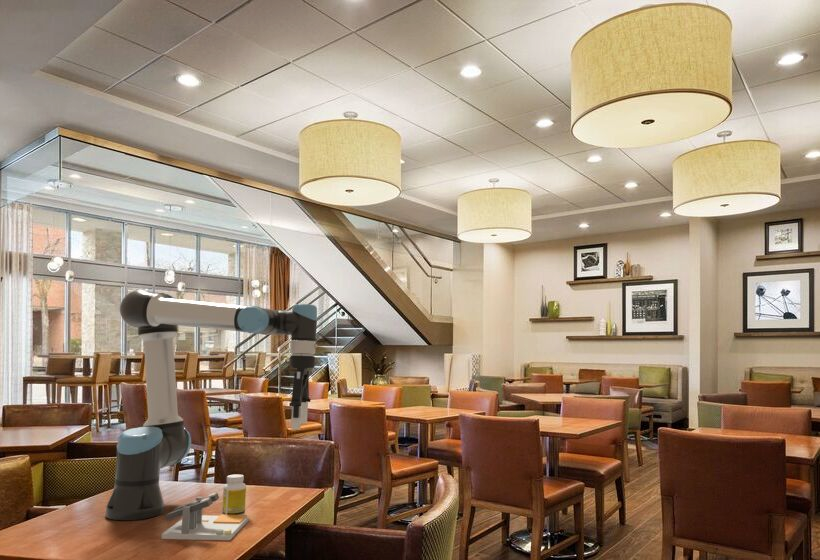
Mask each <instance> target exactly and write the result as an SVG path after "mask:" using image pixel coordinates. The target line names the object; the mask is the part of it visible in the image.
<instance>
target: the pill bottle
mask: <svg viewBox="0 0 820 560" xmlns="http://www.w3.org/2000/svg"><path fill="white" fill-rule="evenodd" d="M244 478H245V477H244V475H243V474H234V473H233V474H230V475H227V476H226V484H224V485H223V494H222V515H246V498H247V497H246V496H247V495H246V493H247V485H246V484H245V483H244V480H245V479H244Z"/></svg>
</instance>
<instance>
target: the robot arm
mask: <svg viewBox="0 0 820 560" xmlns="http://www.w3.org/2000/svg"><path fill="white" fill-rule="evenodd" d="M119 312H120V314H119V315H120V316H121V318H122V320H123V321H124V322H125V323H126V324H127V325H129V326H131V327H133V328H137V336H138V338H139V339H140V340H142V341H143V344H144V345H143V346H144V347H143V349H144V365H145V367H144V368H145V383H146V385H145V386H146V400H147V401H146V402H147V404H146V405H147V420H146V421H145V422H144V423H143V425H142V426H140V427H134V428H129V429H126V430H124V431H123V432H121V433H120V434H119V436H118V439H117V440H118V441H117V444H116V460H115V474H114V475H115V476H114V487H113V490H112V492H111V494H110V497H109V500H108V502H107V505H106V506H105V517H106V518H107V519H110V520H115V521H137V520H143V519H150V518H155V517H157V516H160V515H162V514H163V513H164V509H165V502H164V498H163V495H162V491H161V487H160V476H161V475H160V474H161V473H160V472H161V469H163V468H166V467H172V466H175V465H176V464H179V463H180V462H182V461H183V460H184V459H185V458H186V457H187V456H188V454H189V452H190V451H191V447H192V437H191V433H190V432H189V431H188V430H187V428H186V427H185V425H184V424H185V423H184V418H183V417H181V416H180V415H179V414H178V413H179V412H178V396H177V380H176V365H175V349H174V338H175V337H176V336H177V335H178V333H179V332H178V326H182V327H189V328H190V327H192V328H202V329H203V328H204V329H210V330H211V329H213V330H222V331H232V332H241V333H248V334H258V335H264V336H267V335H274V336H275V335H276V336H280V335H283V336H284V335H286V336H290V346H289V347H290V350H289V352H290V354H291V355H290V357H289V367H290V368H291V369H296V371H294V373H293V385H292V392H291V394H292V395H291V401H290V402H289V405H288V406H289V407H291V417H290V418H291V420H290V430H301V427H302V425H301V424H305V425H307V424H308V409H309V403H311V398H310V386H309V385H310V382H309V381H310V380H309V379H310V371H309V370H308V369H315V368H316V367H315V365H316V357H315V356H314V355H315V354H316V348H318V344H317V342H316V341H317V327H318V326H317V325H318V308H317V306H316V305H314V304H310V303H294V304H293V305H292V308H291V309H290V310H280V309H279V310H278V309H277V310H276V309H271V308H264V307H261V306H256V305H250V306H249V305H238V304H229V303H218V302H209V301H198V300H187V299H179V298H176V297H175V296H173V295H170V294H168V293H165V292H158V291H151V290H145V289H136V290H133V291H131V292H129V293H127V294H126V295H125V296H124V297H123V298H122V300H121V302H120V306H119Z"/></svg>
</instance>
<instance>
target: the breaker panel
mask: <svg viewBox="0 0 820 560" xmlns="http://www.w3.org/2000/svg"><path fill="white" fill-rule="evenodd" d="M202 498H204V497H198V496H197V497H196V499H195V500H191V501H190V502H188V503H189V506H190V505H193V504H195V503H198V501H196V500H199V499H202ZM181 517H182V518H181V519H180V520H179V521H177V522H176V523H174V524H173V525H172V526H170V527H169V528H168V529H166V530H165V531H163V533H161V540H192V541H193V540H194V541H195V540H197V541H199V540H200V541H231V540H232V539H233V538H234V537H235V536H236V535H237V533H239V532H240V531H241V529H242V528H243V527H245V526H246V524H247V523H248V522H249V519H250V516H247V515H246V514H244V515H222V514H220V515H210V514H209V515H203V508H202V509H200V510H197V511H194V512H191V513H190V507H185V506H184V507H183V514H182V516H181Z"/></svg>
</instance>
